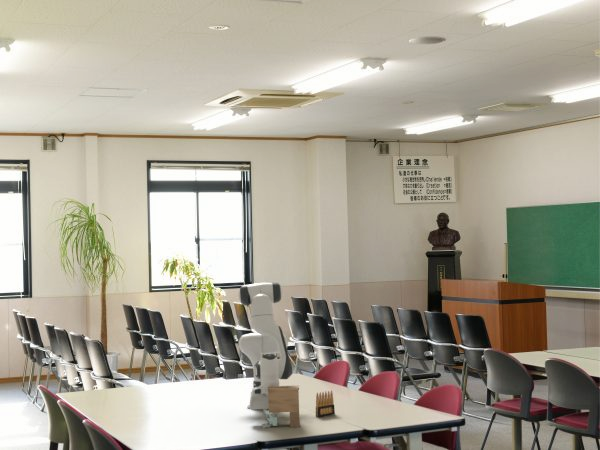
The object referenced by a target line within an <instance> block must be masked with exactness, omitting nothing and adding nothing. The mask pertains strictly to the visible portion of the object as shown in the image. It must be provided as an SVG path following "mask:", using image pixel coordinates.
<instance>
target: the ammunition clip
mask: <svg viewBox="0 0 600 450" xmlns="http://www.w3.org/2000/svg"><path fill="white" fill-rule="evenodd" d="M315 396H316V401H315V418H318V419H320V418H324V416H325V417H330V416H336V414H335V413H336V411H335V404H334V393H333V390H328V391H327V390H326V391H325V392H324V391H322V392H321V391H320V392H317V393H316V395H315Z"/></svg>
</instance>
